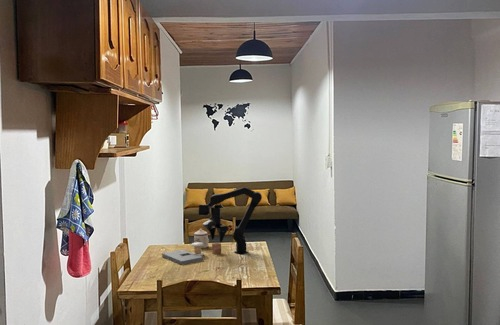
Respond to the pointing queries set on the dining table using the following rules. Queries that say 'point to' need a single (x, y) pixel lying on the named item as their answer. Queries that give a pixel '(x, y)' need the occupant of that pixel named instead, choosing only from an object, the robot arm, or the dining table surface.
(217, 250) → the brown rectangular block
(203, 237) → the white printed mug
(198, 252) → the spool
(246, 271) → the dining table surface
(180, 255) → the slotted board
